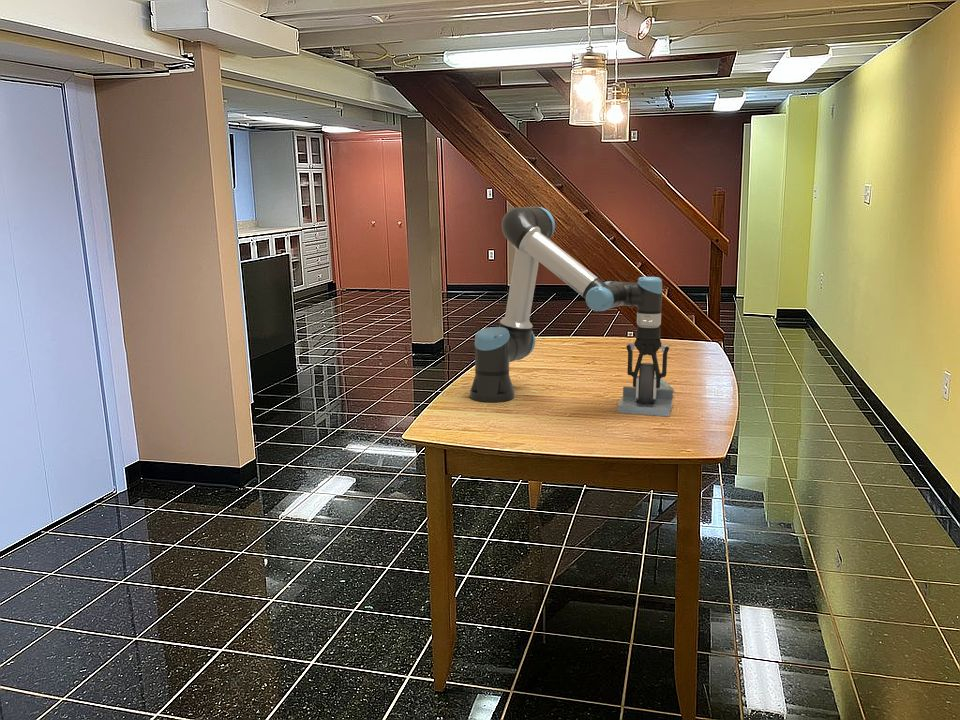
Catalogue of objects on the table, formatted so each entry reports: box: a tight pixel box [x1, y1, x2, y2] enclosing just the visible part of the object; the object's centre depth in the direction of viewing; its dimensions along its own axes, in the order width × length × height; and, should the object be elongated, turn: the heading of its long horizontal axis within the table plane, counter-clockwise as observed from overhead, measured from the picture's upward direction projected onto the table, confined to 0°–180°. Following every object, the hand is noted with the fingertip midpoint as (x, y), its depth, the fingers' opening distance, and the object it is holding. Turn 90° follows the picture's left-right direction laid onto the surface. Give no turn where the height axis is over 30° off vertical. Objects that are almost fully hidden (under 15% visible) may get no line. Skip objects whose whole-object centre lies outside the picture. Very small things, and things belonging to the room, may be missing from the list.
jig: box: [617, 385, 674, 418], centre depth 262 cm, size 16×14×6 cm
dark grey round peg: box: [638, 362, 655, 404], centre depth 260 cm, size 5×5×13 cm
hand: (646, 397), depth 261 cm, fingers closed on dark grey round peg, 5 cm apart
